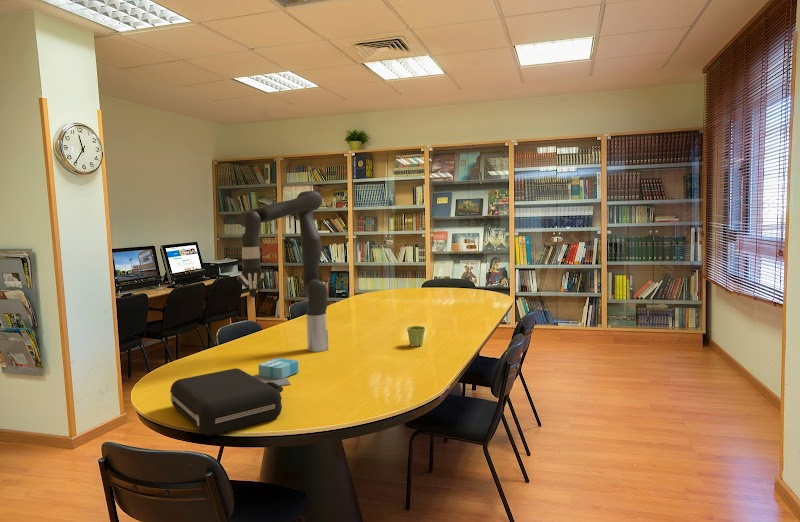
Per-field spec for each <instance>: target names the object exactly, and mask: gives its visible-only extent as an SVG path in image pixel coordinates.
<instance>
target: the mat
mask: <svg viewBox="0 0 800 522" xmlns="http://www.w3.org/2000/svg"><path fill="white" fill-rule="evenodd" d="M252 376H253V377H255V378H257V379H259V380H261V381H262V382H264V383H267V382H274V383H276V384H278V385H280V386H282V387H284V386H285V387H286V386H291V382H290V380H289V379H288V378H287V377H285V378H283V379H274V378H268V377H262V376H259V374H253V375H252Z"/></svg>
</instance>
